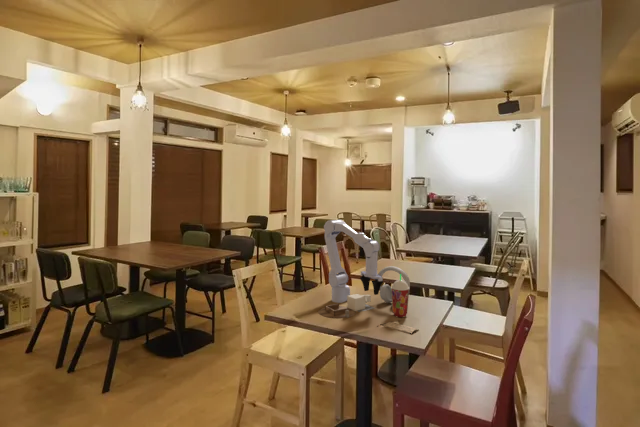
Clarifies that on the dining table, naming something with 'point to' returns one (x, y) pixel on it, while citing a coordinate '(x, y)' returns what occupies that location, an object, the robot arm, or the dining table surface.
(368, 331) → the dining table surface
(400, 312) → the smoothie
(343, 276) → the robot arm
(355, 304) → the beige upright block
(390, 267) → the headphones
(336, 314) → the turntable
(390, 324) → the newspaper
